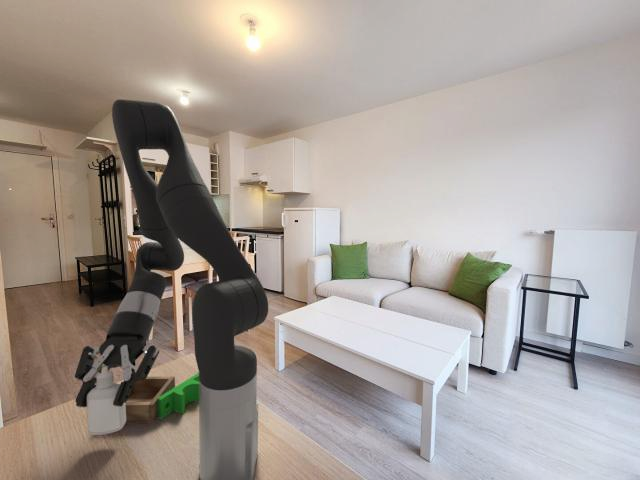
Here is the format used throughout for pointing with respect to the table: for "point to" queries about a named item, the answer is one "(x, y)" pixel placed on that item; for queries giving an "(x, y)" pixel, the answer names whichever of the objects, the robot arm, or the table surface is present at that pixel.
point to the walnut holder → (146, 398)
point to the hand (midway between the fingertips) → (99, 405)
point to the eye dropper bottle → (104, 406)
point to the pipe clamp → (179, 397)
